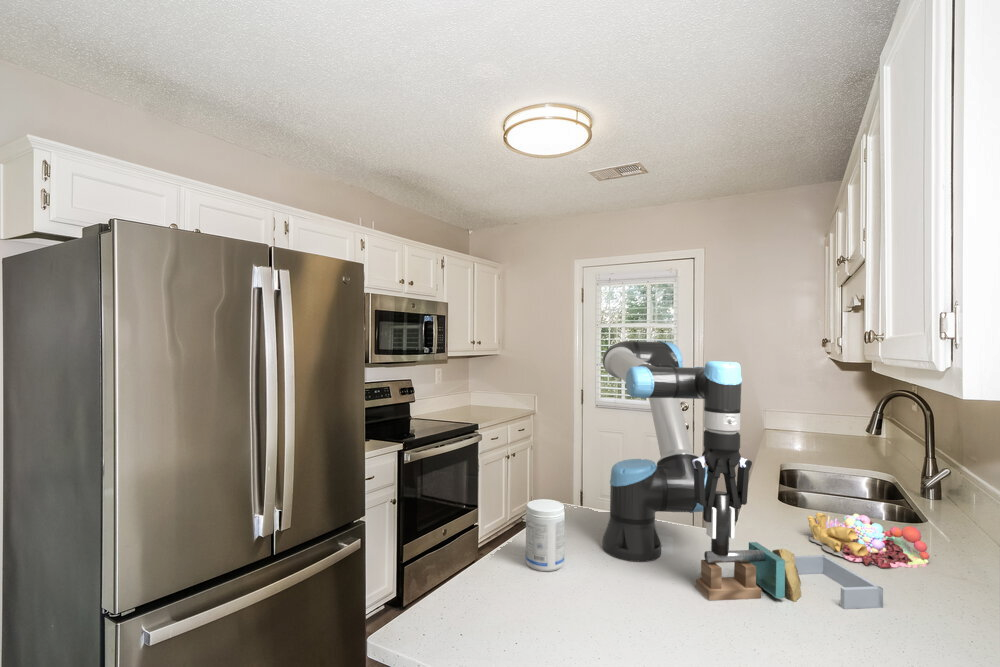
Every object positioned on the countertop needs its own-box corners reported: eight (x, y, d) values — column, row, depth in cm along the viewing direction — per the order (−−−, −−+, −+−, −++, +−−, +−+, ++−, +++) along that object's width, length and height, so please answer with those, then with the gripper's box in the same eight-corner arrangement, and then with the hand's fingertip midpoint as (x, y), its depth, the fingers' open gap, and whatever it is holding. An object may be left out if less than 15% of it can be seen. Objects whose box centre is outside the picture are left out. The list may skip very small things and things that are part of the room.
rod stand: (709, 600, 110) (709, 570, 110) (695, 587, 116) (695, 558, 116) (761, 598, 112) (761, 568, 112) (745, 585, 118) (745, 556, 118)
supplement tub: (553, 554, 133) (554, 497, 133) (571, 569, 124) (572, 508, 124) (519, 558, 129) (520, 500, 130) (534, 575, 120) (535, 512, 121)
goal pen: (844, 609, 108) (844, 589, 108) (789, 572, 125) (789, 555, 125) (882, 607, 109) (883, 588, 109) (823, 571, 126) (823, 555, 126)
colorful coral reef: (865, 574, 126) (866, 536, 126) (791, 537, 149) (791, 505, 149) (945, 566, 131) (945, 530, 131) (861, 532, 154) (861, 501, 154)
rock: (784, 565, 124) (754, 565, 120) (806, 546, 119) (775, 545, 116) (813, 609, 115) (782, 610, 112) (837, 590, 111) (806, 590, 108)
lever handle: (718, 600, 109) (720, 500, 109) (695, 578, 118) (696, 487, 119) (784, 597, 110) (785, 499, 110) (756, 576, 120) (757, 486, 120)
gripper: (694, 433, 110) (692, 543, 109) (767, 433, 112) (765, 541, 111) (678, 427, 117) (676, 530, 117) (746, 427, 119) (745, 529, 119)
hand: (720, 535), depth 114 cm, fingers closed on lever handle, 4 cm apart
